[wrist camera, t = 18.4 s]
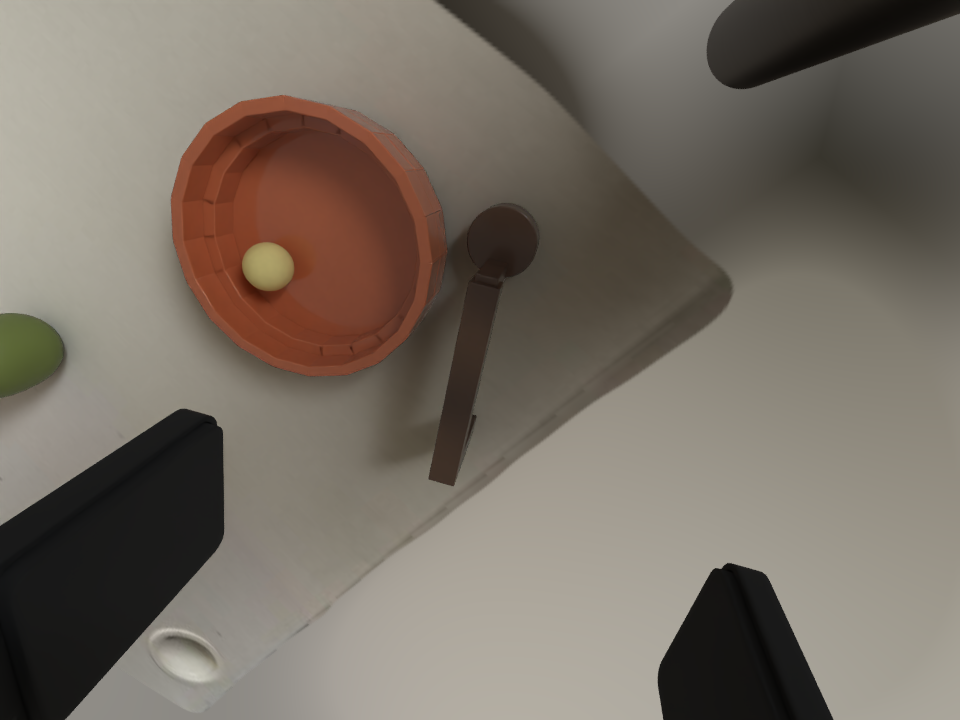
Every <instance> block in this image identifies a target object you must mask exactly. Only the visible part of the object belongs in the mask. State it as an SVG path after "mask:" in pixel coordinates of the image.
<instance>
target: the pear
mask: <svg viewBox="0 0 960 720" xmlns="http://www.w3.org/2000/svg"><path fill="white" fill-rule="evenodd" d="M62 358H63V344H62V341H61V339H60V337H59V335H58V334H57V332H56V331H55V330H54V329H53V328H52V327H51V326H50V325H48V324H47V323H46V322H44V321H42V320H40V319H38V318H35V317H33V316H29V315H25V314H18V313H5V314H0V398H2V397H7V396H10V395H14V394H17V393H19V392H22V391H24V390H27V389H29V388H31V387H33V386H35V385H37V384H39V383H40V382H42V381H44V380H45V379H47V378H48V377H49V376H50V375H52V374H53V373H54V372H55V371H56V369H57V368H58V367H59V365H60V363H61V361H62Z"/></svg>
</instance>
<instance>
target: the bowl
mask: <svg viewBox="0 0 960 720" xmlns="http://www.w3.org/2000/svg"><path fill="white" fill-rule="evenodd" d="M171 213H172V233H173V240H174V241H173V242H174V246H175V249H176V252H177V255H178V258H179V261H180V264H181V267H182V270H183V273H184V276H185V279H186V281H187V283H188V285H189V287H190V288H191V290H192V291H193V293H194V295H195V296H196V298H197V299H198V301H199V303H200V304H201V306H202V307H203V309H204V310H205V312H206V314H207V315H208V317H209V318H210V319H211V320H212V321H213V322H214V323H215V324H216V325H217V326H218V327H219V328H220V329H221V330H222V331H223V332H224V333H225V334H226V335H227V336H228V337H229V338H230V339H231V340H232V341H233V342H234V343H235V344H236V345H237V346H239V347H240V348H242V349H244V350H245V351H247V352H249V353H251V354H252V355H254V356H256V357H257V358H259V359H261V360H262V361H264V362H266V363H268V364H269V365H271V366H273V367H276V368H280V369H284V370H287V371H291V372H295V373H298V374H302V375H306V376H342V375H349V374H351V373H354V372H357V371H359V370H362V369H365V368H367V367H370V366H373V365H375V364H378V363H379V362H381V361H382V360H383V359H384V358H386V357H387V356H388V355H389V354H390V353H391V352H392V351H394V350H395V349H396V348H397V347H398V346H399V345H401V344H402V343H403V342H404V341H405V340H406V339H407V338H408V337H409V336H410V335H411V334H412V332H413V331H414V330H415V329H416V328H417V327H418V326H419V325H420V323H421V322H422V321H423V320H424V318H425V316H426V315H427V313H428V311H429V309H430V307H431V306H432V304H433V302H434V300H435V298H436V297H437V295H438V293H439V291H440V288H441V284H442V279H443V273H444V267H445V262H446V256H447V243H446V235H445V227H444V220H443V212H442V208H441V206H440V203H439V201H438V199H437V197H436V194H435V192H434V190H433V188H432V185H431V183H430V181H429V178H428V176H427V174H426V172H425V170H424V169H423V167H422V166H421V165H420V164H419V162H418V161H417V160H416V159H415V158H414V156H413V155H412V154H411V153H410V152H409V151H408V149H407V148H406V147H405V146H404V145H403V144H402V142H401V141H400V140H399V139H398V138H397V137H396V136H395V135H394V134H393V133H392V132H390V131H388V130H387V129H385V128H384V127H382V126H380V125H379V124H377V123H376V122H374V121H372V120H371V119H369V118H368V117H366V116H364V115H363V114H361V113H360V112H358V111H355V110H350V109H346V108H342V107H337V106H333V105H329V104H324V103H320V102H315V101H311V100H306V99H301V98H296V97H291V96H286V95H280V96H273V97H266V98H260V99H253V100H247V101H241V102H239V103H237V104H235V105H234V106H232V107H231V108H229V109H227V110H226V111H224V112H223V113H221V114H219V115H218V116H216V117H215V118H213V119H211V120H210V121H208V122H207V123H205V125H204V126H203V127H202V129H201V130H200V131H199V133H198V134H197V136H196V137H195V139H194V140H193V141H192V143H191V144H190V146H189V147H188V148H187V150H186V151H185V153H184V154H183V156H182V158H181V161H180V165H179V168H178V172H177V176H176V180H175V184H174V187H173V191H172V195H171ZM263 242H270V243H275V244H277V245H279V246H281V247H283V248H284V249H285V250H286V251H287V252H288V253H289V254H290V256H291V257H292V259H293V262H294V274H293V277H292V279H291V281H290V282H289V283H288V284H287V285H286V286H285V287H284V288H282V289H279V290H276V291H264V290H260V289H258V288H256V287H254V286H253V285H252V284H251V283H249V281H248V280H247V279H246V277H245V275H244V273H243V270H242V260H243V257H244V255H245V253H246V252H247V250H248V249H249V248H251V247H252V246H254V245H256V244H258V243H263Z"/></svg>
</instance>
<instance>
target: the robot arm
mask: <svg viewBox="0 0 960 720" xmlns="http://www.w3.org/2000/svg"><path fill="white" fill-rule="evenodd" d="M223 535H224V474H223V430H222V428H221V427H219V426H217V421H216V420H215V418H214V417H212V416H209V415H206V414H202V413H199V412H195V411H192V410H188V409H179V410H177V411H175V412H174V413H172V414H171V415H169V416H168V417H166V418H165V419H163V420H161V421H160V422H158V423H157V424H155V425H154V426H152V427H151V428H149V429H148V430H146V431H145V432H143V433H142V434H140V435H139V436H137V437H135V438H134V439H132V440H131V441H129V442H128V443H126V444H125V445H123V446H122V447H120V448H119V449H117V450H116V451H114V452H113V453H111V454H110V455H108V456H106V457H105V458H103V459H102V460H100V461H99V462H97V463H96V464H94V465H93V466H91V467H90V468H88V469H87V470H85V471H84V472H82V473H80V474H79V475H77V476H76V477H74V478H73V479H71V480H70V481H68V482H67V483H65V484H64V485H62V486H61V487H59V488H58V489H56V490H54V491H53V492H51V493H50V494H48V495H47V496H45V497H44V498H42V499H41V500H39V501H38V502H36V503H35V504H33V505H32V506H30V507H28V508H27V509H25V510H24V511H22V512H21V513H19V514H18V515H16V516H15V517H13V518H12V519H10V520H9V521H7V522H6V523H4V524H3V525H1V526H0V720H65V719H66V718H67V717H68V716H69V715H70V714H71V712H72V711H73V710H74V709H75V708H76V707H77V706H78V705H79V704H80V702H81V701H82V700H83V699H84V698H85V697H86V696H87V695H88V693H89V692H90V691H91V690H92V689H93V688H94V687H95V686H96V685H97V683H98V682H99V681H100V680H101V679H102V678H103V677H104V675H105V674H106V673H107V672H108V671H109V670H110V669H111V668H112V667H113V665H114V664H115V663H116V662H117V661H118V660H119V659H120V658H121V657H122V655H123V654H124V653H125V652H126V651H127V650H128V649H129V648H130V646H131V645H132V644H133V643H134V642H135V641H136V640H137V639H138V637H139V636H140V635H141V634H142V633H143V632H144V631H145V630H146V629H147V627H148V626H149V625H150V624H151V623H152V622H153V621H154V620H155V618H156V617H157V616H158V615H159V614H160V613H161V612H162V611H163V609H164V608H165V607H166V606H167V605H168V604H169V603H170V602H171V601H172V599H173V598H174V597H175V596H176V595H177V594H178V593H179V592H180V590H181V589H182V588H183V587H184V586H185V585H186V584H187V583H188V581H189V580H190V579H191V578H192V577H193V576H194V575H195V574H196V573H197V571H198V570H199V569H200V568H201V567H202V566H203V565H204V564H205V562H206V561H207V560H208V559H209V558H210V557H211V556H212V555H213V553H214V552H215V551H216V550H217V548H218V547H219V545H220V543H221V541H222V539H223ZM658 689H659V695H660V701H661V707H662V714H663V720H833V718H832V716H831V713H830V711H829V709H828V707H827V705H826V702H825V700H824V698H823V696H822V694H821V692H820V689H819V687H818V686H817V683H816V681H815V678H814V676H813V674H812V672H811V670H810V668H809V666H808V663H807V661H806V659H805V657H804V655H803V652H802V650H801V648H800V646H799V644H798V642H797V640H796V637H795V635H794V633H793V631H792V629H791V627H790V624H789V622H788V620H787V618H786V616H785V613H784V611H783V609H782V607H781V605H780V603H779V601H778V599H777V596H776V594H775V592H774V590H773V587H772V585H771V583H770V581H769V579H768V578H767V576H766V575H765V574H764V573H763V572H760V571H756V570H753V569H750V568H746V567H742V566H738V565H735V564H732V563H727V564H726V565H724V566H723V568H722V569H718V568H715V569H713V570H712V572H711V573H710V575H709V577H708V579H707V580H706V582H705V584H704V586H703V587H702V589H701V591H700V593H699V595H698V596H697V598H696V600H695V602H694V604H693V606H692V607H691V609H690V611H689V613H688V615H687V616H686V618H685V620H684V622H683V624H682V625H681V627H680V629H679V631H678V633H677V634H676V636H675V638H674V640H673V642H672V643H671V645H670V647H669V649H668V651H667V652H666V654H665V656H664V658H663V660H662V662H661V664H660V667H659V671H658Z"/></svg>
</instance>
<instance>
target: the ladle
mask: <svg viewBox="0 0 960 720" xmlns="http://www.w3.org/2000/svg"><path fill="white" fill-rule="evenodd" d="M538 244H539V230H538V226H537V224H536V222H535V220H534V218H533V217H532V215H531V214H530V213H529V212H528V211H527V210H525V209H524V208H522V207H520V206H518V205H515V204H511V203H500V204H496V205H494V206H491V207H490V208H488V209H486V210H485V211H483V212H482V213H481V214H479V215H478V216H477V217H476V219H475V220H474V221H473V223H472V225H471V227H470V229H469V232H468V237H467V246H468V251H469V254H470V257H471V259H472V261H473V262H474V263H475V265H476V266H477V267H478V268H479V269H480V270H479V271H478V272H477V273H476V275H474V276H473V278H472V279H471V280H470V281H469V283H468V288H467V293H466V298H465V303H464V308H463V313H462V317H461V322H460V327H459V332H458V337H457V342H456V347H455V352H454V356H453V361H452V366H451V371H450V376H449V381H448V386H447V390H446V395H445V400H444V405H443V410H442V415H441V420H440V424H439V429H438V434H437V439H436V444H435V449H434V454H433V458H432V463H431V468H430V473H429V478H428V479H429V480H433V481H436V482H440V483H443V484H447V485H451V486H454V484H455V482H456V479H457V476H458V473H459V471H460V468H461V465H462V462H463V459H464V457H465V454H466V451H467V448H468V445H469V442H470V439H471V436H472V433H473V429H474V425H475V421H476V415H473V410H474V406H475V402H476V398H477V393H478V389H479V385H480V381H481V376H482V372H483V368H484V364H485V359H486V355H487V351H488V347H489V343H490V338H491V334H492V330H493V326H494V321H495V317H496V313H497V309H498V304H499V300H500V296H501V292H502V287H503V282H504V280H505V278H507V277H512V276H515V275H517V274H519V273H521V272H522V271H524V270H525V269H526V268H527V267H528V266H529V265H530V264H531V262H532V261H533V259H534V257H535V254H536V251H537V248H538Z"/></svg>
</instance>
